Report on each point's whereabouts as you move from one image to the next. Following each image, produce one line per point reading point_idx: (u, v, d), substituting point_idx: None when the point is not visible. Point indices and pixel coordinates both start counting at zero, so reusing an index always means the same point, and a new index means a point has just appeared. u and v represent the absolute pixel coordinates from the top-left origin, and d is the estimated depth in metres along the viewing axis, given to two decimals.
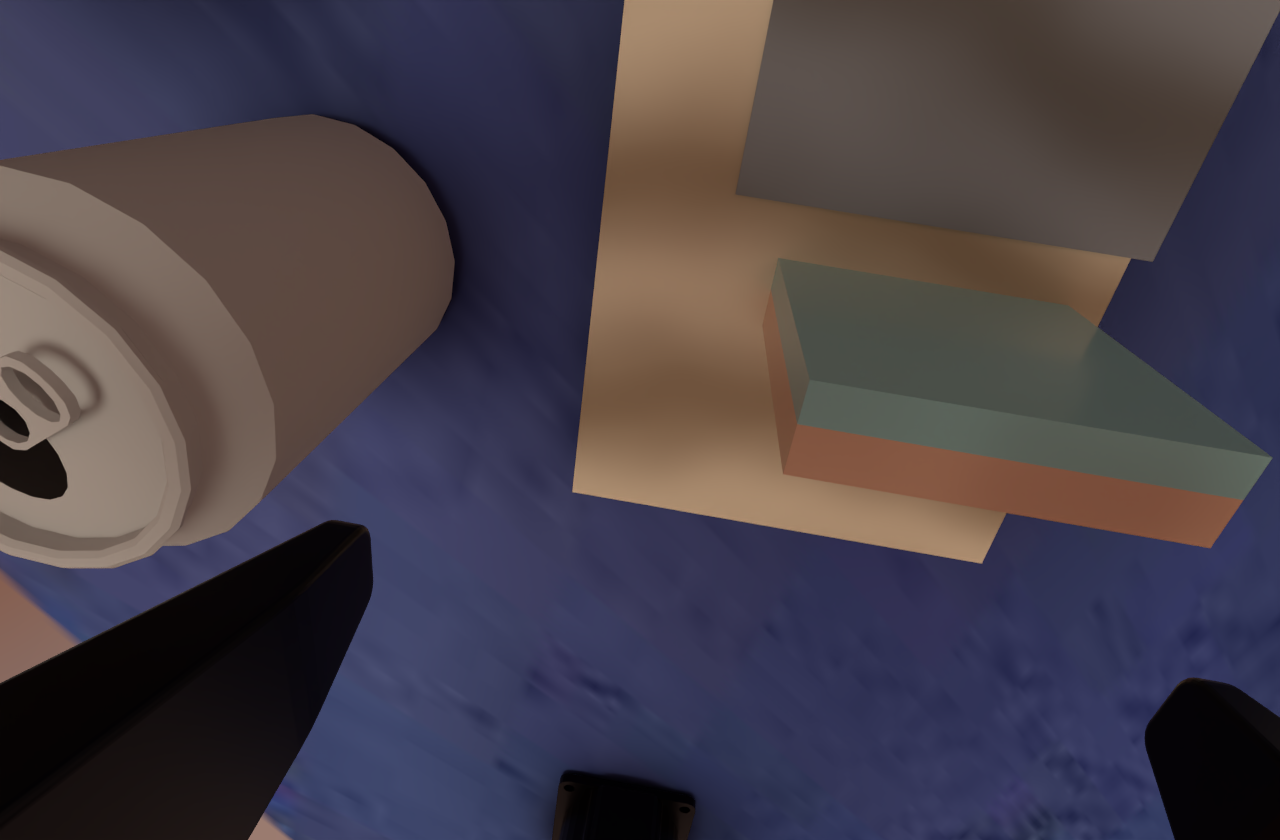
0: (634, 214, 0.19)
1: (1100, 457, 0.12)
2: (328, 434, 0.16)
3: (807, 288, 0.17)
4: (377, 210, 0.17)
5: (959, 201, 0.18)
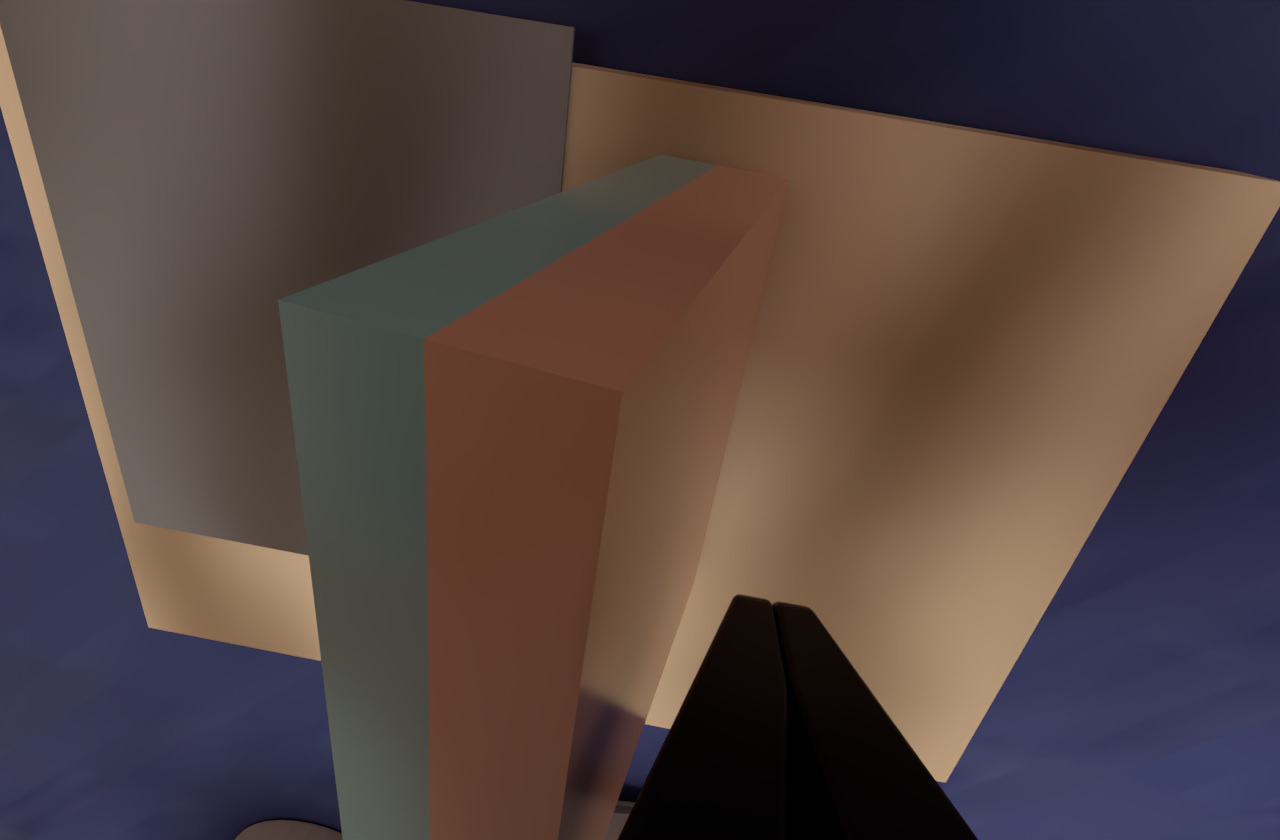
0: None
1: (384, 671, 0.05)
2: None
3: None
4: None
5: None
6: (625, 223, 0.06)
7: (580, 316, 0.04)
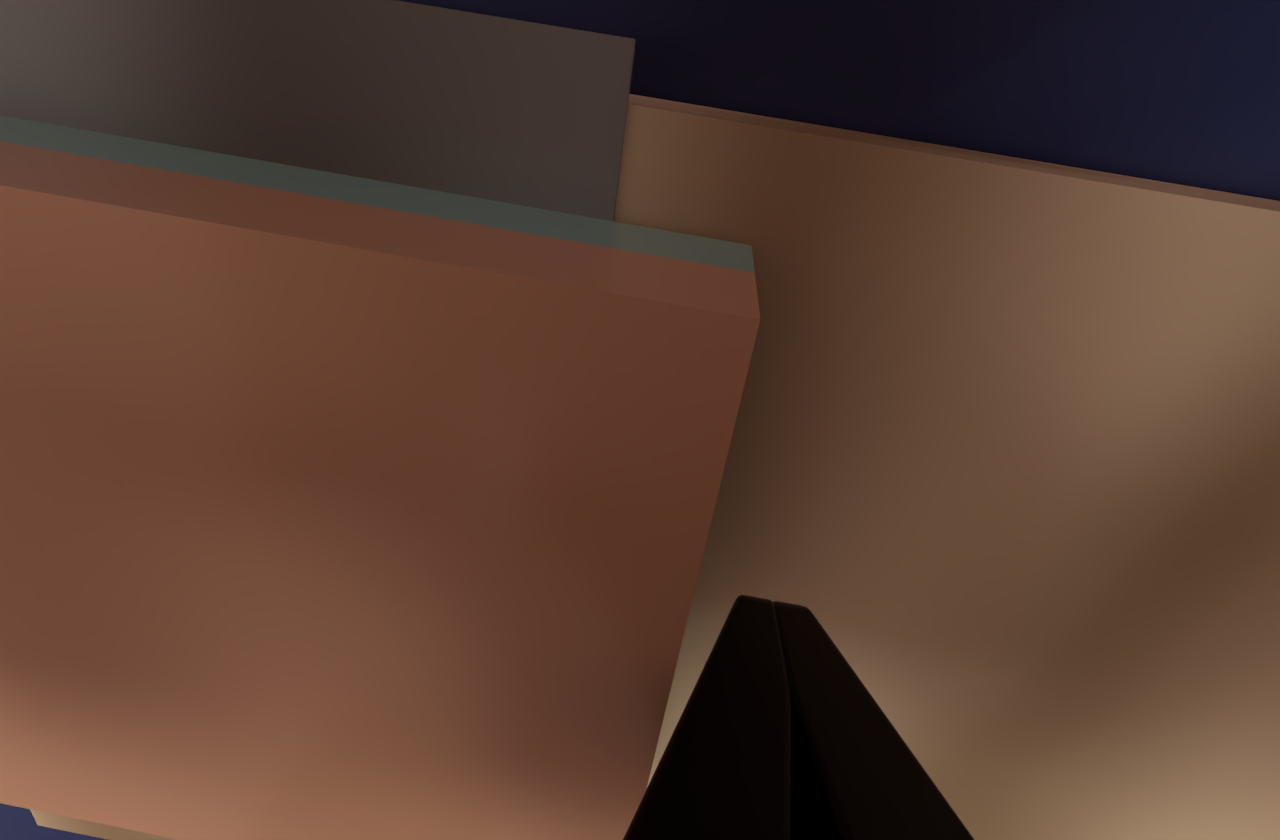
0: None
1: None
2: None
3: None
4: None
5: None
6: (188, 175, 0.06)
7: None
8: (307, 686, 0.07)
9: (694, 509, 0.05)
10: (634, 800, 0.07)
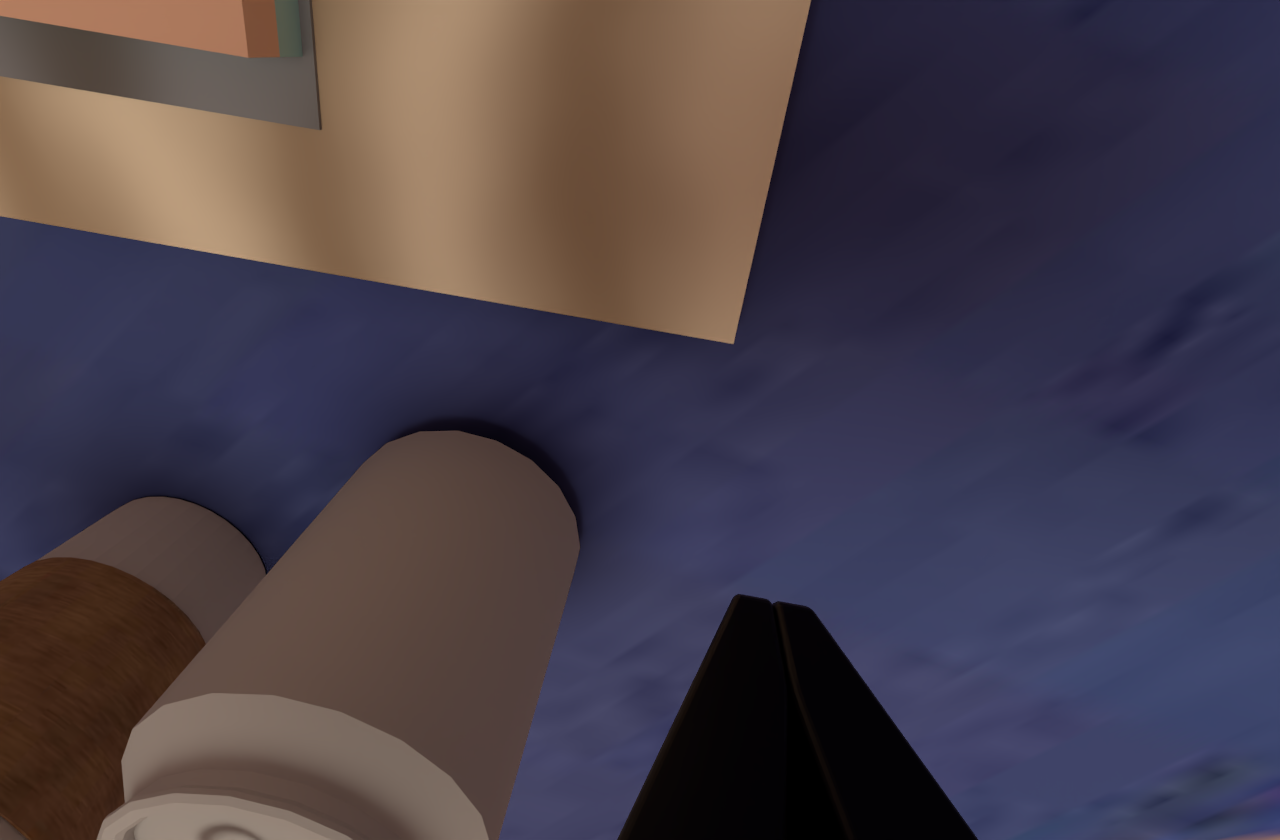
0: (367, 246, 0.17)
1: None
2: (451, 629, 0.14)
3: None
4: (338, 504, 0.18)
5: None
6: None
7: None
8: None
9: None
10: None
